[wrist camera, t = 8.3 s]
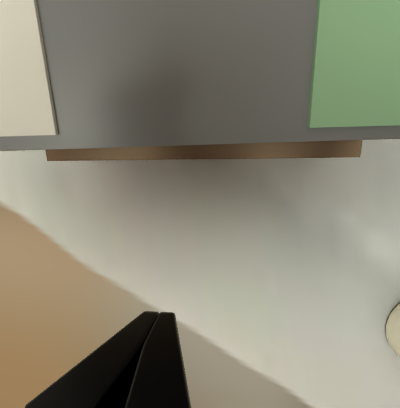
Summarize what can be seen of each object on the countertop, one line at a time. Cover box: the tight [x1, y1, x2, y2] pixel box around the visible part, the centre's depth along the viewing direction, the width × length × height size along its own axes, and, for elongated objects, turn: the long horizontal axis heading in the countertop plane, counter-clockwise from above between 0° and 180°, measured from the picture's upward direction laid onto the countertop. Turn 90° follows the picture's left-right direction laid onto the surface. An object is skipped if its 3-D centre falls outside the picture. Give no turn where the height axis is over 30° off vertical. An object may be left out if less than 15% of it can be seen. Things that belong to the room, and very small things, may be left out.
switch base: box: [46, 140, 362, 161], centre depth 14 cm, size 16×9×6 cm, turn 92°
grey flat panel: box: [0, 0, 400, 151], centre depth 10 cm, size 18×7×2 cm, turn 91°
